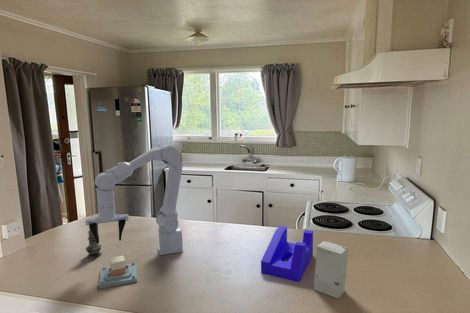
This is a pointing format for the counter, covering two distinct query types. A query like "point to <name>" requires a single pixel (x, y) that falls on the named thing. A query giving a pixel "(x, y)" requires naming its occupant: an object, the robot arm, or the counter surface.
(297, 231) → the counter surface
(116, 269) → the cream and red block
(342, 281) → the skincare box
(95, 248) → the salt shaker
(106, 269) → the base plate
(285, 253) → the bracket
